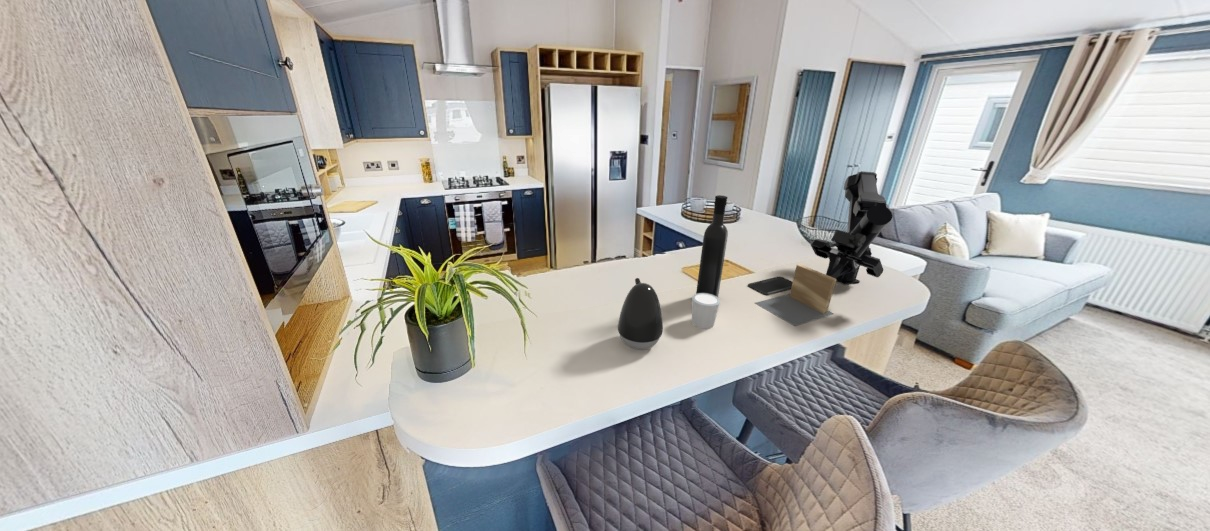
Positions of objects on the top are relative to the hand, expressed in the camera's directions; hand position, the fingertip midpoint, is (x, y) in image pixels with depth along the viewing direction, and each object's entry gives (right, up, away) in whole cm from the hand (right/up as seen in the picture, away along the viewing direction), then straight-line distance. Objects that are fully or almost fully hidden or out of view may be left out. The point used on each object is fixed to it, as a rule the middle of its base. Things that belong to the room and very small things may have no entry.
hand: (826, 279), depth 108 cm
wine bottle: (-33, -6, +2) cm, 34 cm away
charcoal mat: (-10, -8, -2) cm, 13 cm away
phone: (-10, -3, +12) cm, 16 cm away
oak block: (-5, -7, +1) cm, 9 cm away
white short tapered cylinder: (-37, -11, -10) cm, 40 cm away
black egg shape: (-54, -14, -19) cm, 59 cm away
